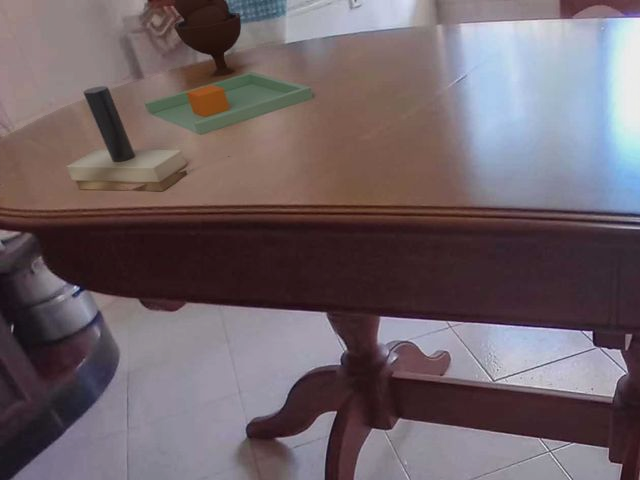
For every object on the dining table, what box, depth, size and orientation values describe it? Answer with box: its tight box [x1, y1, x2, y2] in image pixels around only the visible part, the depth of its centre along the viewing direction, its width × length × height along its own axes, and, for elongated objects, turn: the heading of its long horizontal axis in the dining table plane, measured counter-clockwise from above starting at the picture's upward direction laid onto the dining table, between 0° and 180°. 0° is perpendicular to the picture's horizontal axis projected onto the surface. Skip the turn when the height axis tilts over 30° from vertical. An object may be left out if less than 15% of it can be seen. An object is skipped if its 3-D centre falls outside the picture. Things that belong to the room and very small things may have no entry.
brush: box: [65, 85, 188, 192], centre depth 82 cm, size 12×5×11 cm, turn 75°
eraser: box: [186, 85, 230, 117], centre depth 102 cm, size 4×4×3 cm
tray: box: [144, 71, 314, 136], centre depth 105 cm, size 18×18×2 cm
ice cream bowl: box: [173, 0, 242, 78], centre depth 118 cm, size 11×11×15 cm
